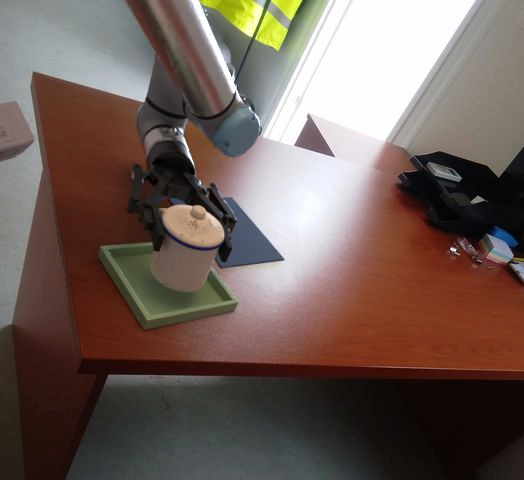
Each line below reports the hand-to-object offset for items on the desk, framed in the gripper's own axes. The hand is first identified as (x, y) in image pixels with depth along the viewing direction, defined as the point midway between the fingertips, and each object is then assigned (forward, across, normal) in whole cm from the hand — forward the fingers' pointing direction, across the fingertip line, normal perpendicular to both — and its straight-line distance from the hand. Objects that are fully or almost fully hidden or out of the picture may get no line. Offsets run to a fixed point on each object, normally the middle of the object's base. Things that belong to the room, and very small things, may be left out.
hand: (194, 249), depth 63 cm
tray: (-5, 0, +11) cm, 12 cm away
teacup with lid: (-4, 0, +7) cm, 9 cm away
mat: (-23, +15, +11) cm, 29 cm away
